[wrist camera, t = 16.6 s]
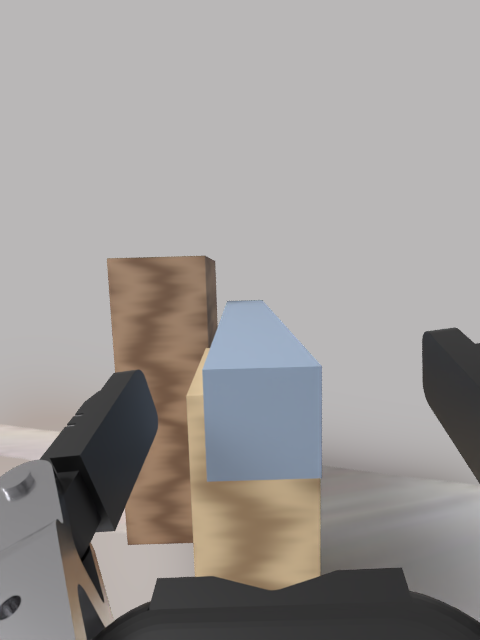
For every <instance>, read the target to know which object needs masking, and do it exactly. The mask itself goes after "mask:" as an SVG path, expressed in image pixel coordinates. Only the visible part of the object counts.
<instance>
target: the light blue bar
mask: <svg viewBox="0 0 480 640" xmlns="http://www.w3.org/2000/svg"><path fill="white" fill-rule="evenodd" d="M202 376H203V399H204V423H205V447H206V470H207V482H212V481H246V480H279V479H313V478H322V366H321V365H320V364H319V363H318V362H317V360H316V359H315V358H314V357H313V356H312V355H311V354H310V353H309V352H308V351H307V349H306V348H305V347H304V346H303V345H302V344H301V343H300V342H299V340H298V339H297V338H296V337H295V336H294V335H293V334H292V333H291V332H290V330H289V329H288V328H287V327H286V326H285V325H284V324H283V323H282V322H281V320H280V319H279V318H278V317H277V316H276V315H275V314H274V313H273V312H272V310H271V309H270V308H269V307H268V306H267V305H266V304H265V303H264V302H263V300H253V301H252V300H251V301H227V303H226V306H225V309H224V312H223V314H222V317H221V320H220V323H219V325H218V328H217V331H216V333H215V336H214V339H213V342H212V344H211V347H210V350H209V353H208V355H207V358H206V361H205V364H204V366H203V369H202Z"/></svg>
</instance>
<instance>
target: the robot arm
mask: <svg viewBox="0 0 480 640" xmlns="http://www.w3.org/2000/svg"><path fill="white" fill-rule="evenodd" d="M422 350H423V351H422V358H423V360H422V362H423V389H424V393H425V397H426V400H427V402H428V404H429V406H430V407H431V409H432V410H433V412H434V414H435V415H436V416H437V418H438V420H439V421H440V423H441V424H442V426H443V427H444V429H445V431H446V432H447V434H448V435H449V437H450V438H451V440H452V441H453V443H454V444H455V446H456V447H457V449H458V451H459V452H460V454H461V455H462V457H463V458H464V460H465V462H466V463H467V465H468V466H469V468H470V469H471V471H472V472H473V474H474V475H475V477H476V479H477V480H478V482H479V483H480V343H479V344H475V343H473V342H472V341H471V340H470V339H469V338H468V337H467V336H466V335H464V334H463V333H462V332H461V331H460V330H459V329H458V328H449V329H441V330H434V331H426V332H425V333H424V335H423V339H422ZM67 425H68V426H67V427H65V428H64V429H63V430H62V432H61V433H60V434H59V435H58V437H57V438H56V439H55V441H54V442H53V443H52V444H51V446H50V447H49V448H48V449H47V451H46V452H45V453H44V455H43V456H42V457H41V458H40V460H34V461H30V462H26V463H23V464H21V465H19V466H17V467H15V468H13V469H11V470H9V471H8V472H6V473H5V474H3V475H2V476H1V477H0V640H480V623H479V622H478V621H477V620H475V619H474V618H472V617H470V616H468V615H467V614H465V613H463V612H462V611H460V610H458V609H457V608H454V607H452V606H450V605H448V604H446V603H444V602H442V601H440V600H437V599H434V598H432V597H429V596H426V595H423V594H420V593H416V592H412V591H409V589H408V586H407V583H406V580H405V577H404V573H403V570H402V568H383V569H360V570H338V571H334V572H331V573H328V574H325V575H322V576H319V577H316V578H313V579H310V580H306V581H303V582H300V583H297V584H294V585H291V586H288V587H285V588H282V589H278V590H267V589H263V588H259V587H255V586H251V585H247V584H243V583H239V582H235V581H231V580H227V579H223V578H219V577H215V576H202V577H179V578H157V581H156V585H155V589H154V592H153V596H152V600H151V601H150V602H147V603H145V604H143V605H140V606H138V607H136V608H134V609H132V610H130V611H129V612H127V613H125V614H124V615H122V616H120V617H119V618H117V619H116V620H115V621H114V618H113V615H112V612H111V608H110V605H109V601H108V598H107V594H106V590H105V587H104V583H103V579H102V576H101V572H100V569H99V565H98V561H97V558H96V554H95V551H94V548H93V546H92V544H91V540H92V538H93V536H94V534H95V532H107V531H115V530H116V527H117V525H118V523H119V520H120V518H121V516H122V513H123V511H124V508H125V506H126V504H127V501H128V499H129V497H130V494H131V492H132V490H133V487H134V485H135V483H136V480H137V478H138V476H139V473H140V471H141V469H142V466H143V464H144V462H145V459H146V457H147V455H148V452H149V450H150V448H151V445H152V443H153V441H154V438H155V436H156V433H157V430H158V415H157V411H156V408H155V405H154V402H153V399H152V396H151V393H150V390H149V387H148V384H147V381H146V378H145V375H144V374H143V372H142V371H141V370H131V371H123V372H116V373H114V374H113V375H112V376H111V377H110V379H109V380H108V381H107V383H106V384H105V385H104V387H103V388H102V389H101V391H98V392H97V393H96V394H95V395H93V396H92V397H91V398H89V399H88V400H87V401H85V402H84V403H83V405H82V406H81V407H80V409H79V410H78V411H77V413H76V414H75V416H74V417H73V418H72V419H71V420H70V422H69V423H68V424H67Z"/></svg>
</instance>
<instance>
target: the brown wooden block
mask: <svg viewBox="0 0 480 640" xmlns="http://www.w3.org/2000/svg"><path fill="white" fill-rule="evenodd" d="M107 266H108V280H109V294H110V307H111V321H112V335H113V349H114V362H115V373H116V372H123V371H131V370H141V371H142V372H143V374H144V375H145V378H146V381H147V384H148V387H149V390H150V393H151V396H152V399H153V402H154V405H155V408H156V411H157V415H158V430H157V433H156V436H155V438H154V441H153V443H152V445H151V448H150V450H149V452H148V455H147V457H146V459H145V462H144V464H143V466H142V469H141V471H140V473H139V476H138V478H137V480H136V483H135V485H134V487H133V490H132V492H131V494H130V497H129V499H128V501H127V504H126V506H125V513H126V526H127V539H128V545H136V544H137V545H138V544H169V543H193V525H192V504H191V483H190V462H189V442H188V421H187V400H186V395H187V393H188V390H189V388H190V386H191V383H192V381H193V378H194V376H195V373H196V371H197V369H198V366H199V364H200V361H201V359H202V356H203V354H204V352H205V349H206V348H210V347H211V344H212V342H213V339H214V336H215V333H216V331H217V328H218V327H217V302H216V273H215V261H214V260H212V259H210V258H208V257H206V256H182V257H147V258H145V257H144V258H108V259H107Z"/></svg>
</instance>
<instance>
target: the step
mask: <svg viewBox="0 0 480 640" xmlns="http://www.w3.org/2000/svg"><path fill="white" fill-rule="evenodd" d="M209 350H210V348H206V349H205V352H204V354H203V356H202V359H201V361H200V364H199V366H198V369H197V371H196V373H195V376H194V378H193V381H192V383H191V386H190V388H189V390H188V393H187V395H186V400H187V421H188V442H189V462H190V483H191V504H192V525H193V545H194V564H195V565H194V566H195V577H202V576H215V577H219V578H223V579H227V580H231V581H235V582H239V583H243V584H247V585H251V586H255V587H259V588H263V589H267V590H278V589H282V588H285V587H288V586H291V585H294V584H297V583H300V582H303V581H306V580H310V579H313V578H316V577H319V576H320V478H313V479H279V480H246V481H212V482H207V470H206V447H205V423H204V399H203V376H202V369H203V366H204V364H205V361H206V358H207V355H208V353H209Z"/></svg>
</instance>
